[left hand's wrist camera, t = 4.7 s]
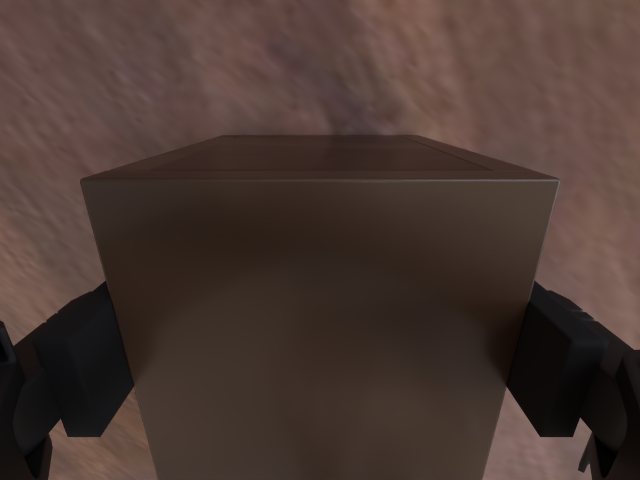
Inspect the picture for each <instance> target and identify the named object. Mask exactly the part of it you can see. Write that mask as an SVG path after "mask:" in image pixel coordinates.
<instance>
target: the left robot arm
mask: <svg viewBox="0 0 640 480" xmlns="http://www.w3.org/2000/svg"><path fill="white" fill-rule="evenodd" d="M133 387H134V385H133V382H132V378H131V374H130V370H129V366H128V363H127V359H126V355H125V351H124V347H123V343H122V340H121V336H120V332H119V328H118V324H117V321H116V317H115V313H114V309H113V305H112V302H111V298H110V294H109V290H108V286H107V283H106V281H105V282H104V283H102V284H101V285H100V286H99V287H97V288H96V289H95V290H94V291H92V292H88V293H86V294H84V295H82V296H80V297H78V298H76V299H74V300H72V301H70V302H69V303H68V304H67V305H65V306H64V307H63V308H62V309H60V310H59V311H58V313H55V314H54V315H53V316H51V317H50V318H49V319H47V322H46V323H42V324H41V325H40V326H39V327H37V328H36V329H35V330H33V331H32V332H31V333H30V334H28V335H27V336H26V337H25V338H23V339H22V340H21V341H19V342H18V343H17V344H16V345H14V346H13V345H12V342H11V340H10V337H9V335H8V333H7V330H6V328H5V325H4V323H3V322H2V321H0V480H48V476H49V469H50V462H51V455H52V448H53V447H52V441H51V438H50V436H49V432H50V431H51V430H52V428H53V427H54V426H55V425H56V424H57V422H58V421H59V420H60V419H61V420H62V423H63V426H64V428H65V431H66V433H67V436H68V437H100V436H101V435H102V433H103V432H104V430H105V429H106V427H107V426H108V424H109V423H110V421H111V420H112V418H113V417H114V415H115V414H116V412H117V411H118V409H119V408H120V406H121V405H122V403H123V402H124V400H125V399H126V397H127V396H128V394H129V393H130V391H131V390H132V388H133ZM507 388H508V389H509V391H510V392H511V394H512V395H513V397H514V398H515V400H516V401H517V403H518V404H519V406H520V407H521V409H522V410H523V412H524V413H525V415H526V416H527V418H528V419H529V421H530V422H531V424H532V425H533V427H534V428H535V430H536V431H537V433H538V434H539V436H540V437H573V435H574V432H575V429H576V427H577V424H578V422H579V419H580V418H581V419H582V420H583V421H584V422H585V424H586V425H587V426H588V427H589V428H590V430H591V431H592V433H591V436H590V438H589V441H588V443H587V446H586V448H585V450H584V453H583V455H582V458H581V460H580V463H579V468H578V470H579V471H581V472H583V473H584V471H585V469H586V467H587V465H588V464H590V467H591V474H592V480H640V350H634V349H632V348H631V347H630V346H629V345H627V344H626V343H625V342H623V341H622V340H621V339H620V338H618V337H617V336H616V335H614V334H613V333H612V332H610V331H609V330H608V329H607V328H605V327H604V326H603V325H601V324H600V323H599V322H598V321H595V320H594V318H592V317H591V316H590V315H589V314H587V313H586V312H583V310H582V309H581V308H580V307H578V306H577V305H576V304H574V303H573V302H572V301H571V300H569V299H567V298H565V297H563V296H561V295H559V294H557V293H555V292H553V291H547V290H545V289H544V288H543V287H542V286H541V285H539V284H538V283H537V282H536V281H534V284H533V288H532V292H531V296H530V300H529V304H528V307H527V311H526V315H525V319H524V323H523V326H522V330H521V334H520V338H519V342H518V345H517V349H516V353H515V357H514V361H513V364H512V368H511V372H510V376H509V380H508V383H507Z"/></svg>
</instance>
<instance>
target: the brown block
mask: <svg viewBox="0 0 640 480" xmlns="http://www.w3.org/2000/svg"><path fill="white" fill-rule="evenodd" d="M80 184H81V187H82V191H83V195H84V199H85V203H86V206H87V210H88V214H89V218H90V222H91V225H92V229H93V233H94V237H95V241H96V244H97V248H98V252H99V256H100V260H101V264H102V267H103V271H104V275H105V279H106V283H107V286H108V290H109V294H110V298H111V302H112V305H113V309H114V313H115V317H116V321H117V324H118V328H119V332H120V336H121V340H122V343H123V347H124V351H125V355H126V359H127V363H128V366H129V370H130V374H131V378H132V382H133V385H134V389H135V393H136V397H137V401H138V404H139V408H140V412H141V416H142V420H143V423H144V427H145V431H146V435H147V439H148V442H149V446H150V450H151V454H152V458H153V462H154V465H155V469H156V473H157V477H158V480H482V479H483V475H484V471H485V467H486V463H487V459H488V456H489V452H490V448H491V444H492V440H493V437H494V433H495V429H496V425H497V421H498V418H499V414H500V410H501V406H502V402H503V399H504V395H505V391H506V387H507V383H508V380H509V376H510V372H511V368H512V364H513V361H514V357H515V353H516V349H517V345H518V342H519V338H520V334H521V330H522V326H523V323H524V319H525V315H526V311H527V307H528V304H529V300H530V296H531V292H532V288H533V284H534V281H535V277H536V273H537V269H538V265H539V262H540V258H541V254H542V250H543V246H544V243H545V239H546V235H547V231H548V227H549V224H550V220H551V216H552V212H553V208H554V205H555V201H556V197H557V193H558V189H559V186H560V179H558V178H555V177H552V176H549V175H546V174H542V173H539V172H536V171H532V170H530V169H527V168H523V167H520V166H517V165H514V164H510V163H507V162H504V161H500V160H497V159H494V158H491V157H487V156H484V155H481V154H478V153H474V152H471V151H468V150H464V149H461V148H458V147H455V146H451V145H448V144H445V143H442V142H438V141H435V140H432V139H429V138H425V137H422V136H418V135H229V136H219V137H216V138H213V139H209V140H206V141H203V142H200V143H196V144H193V145H190V146H187V147H183V148H180V149H177V150H174V151H170V152H167V153H164V154H161V155H157V156H154V157H151V158H148V159H144V160H141V161H138V162H135V163H131V164H128V165H125V166H122V167H118V168H115V169H112V170H110V171H105V172H101V173H98V174H95V175H92V176H88V177H85V178H82V179H81V180H80Z"/></svg>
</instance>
